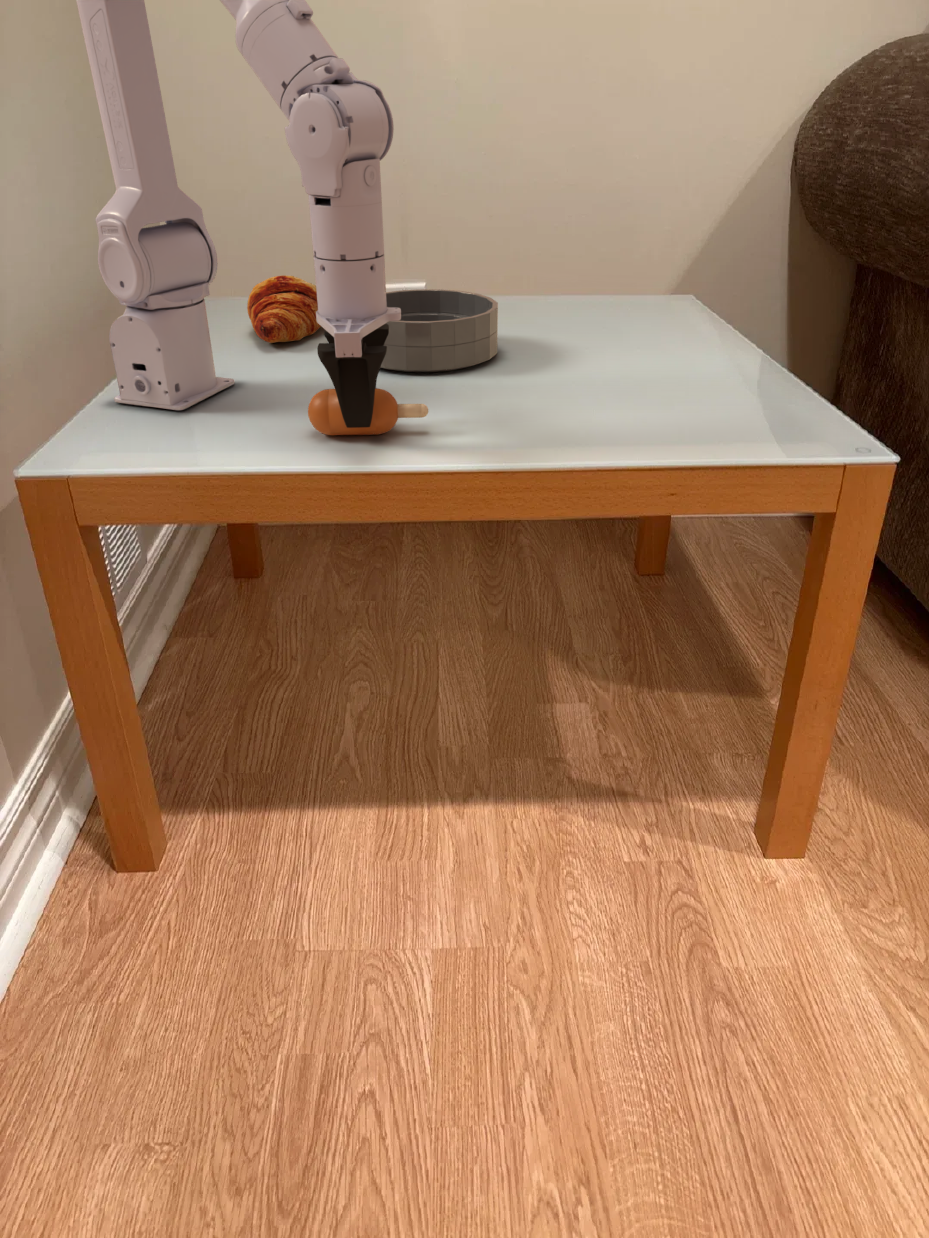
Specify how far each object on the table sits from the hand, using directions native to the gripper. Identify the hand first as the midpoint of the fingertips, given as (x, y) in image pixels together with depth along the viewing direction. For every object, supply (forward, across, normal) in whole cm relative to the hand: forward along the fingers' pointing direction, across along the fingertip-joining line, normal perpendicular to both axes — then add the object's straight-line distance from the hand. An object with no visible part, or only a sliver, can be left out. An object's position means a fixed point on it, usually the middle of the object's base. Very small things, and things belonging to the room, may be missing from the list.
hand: (359, 417), depth 81 cm
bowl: (+1, +26, -6) cm, 26 cm away
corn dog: (+2, 0, -1) cm, 2 cm away
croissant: (+2, +38, +10) cm, 39 cm away
